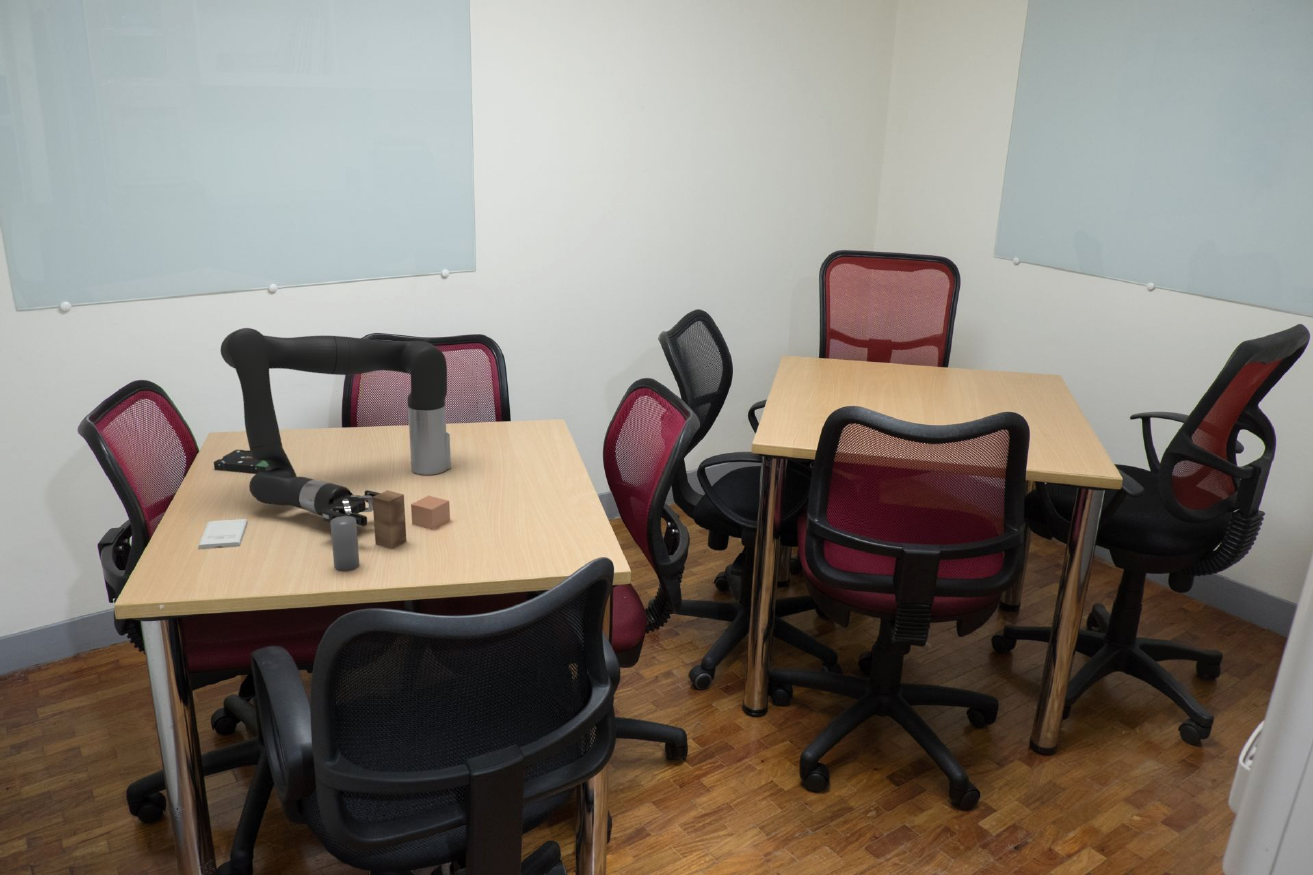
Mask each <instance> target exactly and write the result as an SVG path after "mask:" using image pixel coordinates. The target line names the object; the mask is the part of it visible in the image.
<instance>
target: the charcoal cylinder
mask: <svg viewBox="0 0 1313 875" xmlns="http://www.w3.org/2000/svg"><path fill="white" fill-rule="evenodd" d="M329 524H330V533H331V534H330V535H331V545H332V556H333V558H332V559H333V567H334V569H335V570H336V571H339V572H349V571H354V570H355V569H357V568H359V567H360V553H359V542H358V540H359V538H358V525H357V524H356V518H354V517H351V516H341V517H337V518H334V519H332V520H331V521H330V523H329Z"/></svg>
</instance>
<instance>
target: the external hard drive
mask: <svg viewBox="0 0 1313 875" xmlns="http://www.w3.org/2000/svg"><path fill="white" fill-rule="evenodd" d="M247 526H248V519H247V518H241V519H239V518H238V519H225V520H222V519H221V520H211V521H207V524H206V526H205V529H204V532H203V534H202V535H201V536H202V537H201V538H200V541H199V543H198V545H197V546H198V550H204V549H203V548H205V550H206V548H207V549H216V548H233V547H241V544H242V541H243V537H244V535H245V532H246V529H247Z"/></svg>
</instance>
